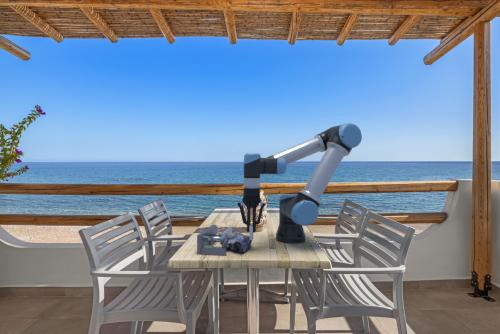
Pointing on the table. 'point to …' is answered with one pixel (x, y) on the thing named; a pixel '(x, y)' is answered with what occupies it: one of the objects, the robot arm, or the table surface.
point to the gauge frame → (209, 242)
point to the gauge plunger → (223, 237)
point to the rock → (239, 242)
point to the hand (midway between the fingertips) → (251, 239)
